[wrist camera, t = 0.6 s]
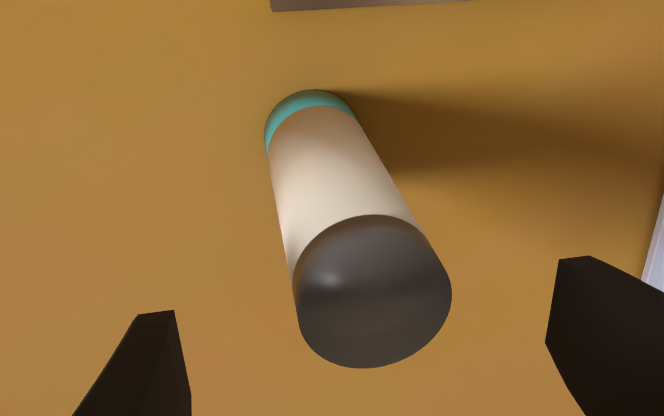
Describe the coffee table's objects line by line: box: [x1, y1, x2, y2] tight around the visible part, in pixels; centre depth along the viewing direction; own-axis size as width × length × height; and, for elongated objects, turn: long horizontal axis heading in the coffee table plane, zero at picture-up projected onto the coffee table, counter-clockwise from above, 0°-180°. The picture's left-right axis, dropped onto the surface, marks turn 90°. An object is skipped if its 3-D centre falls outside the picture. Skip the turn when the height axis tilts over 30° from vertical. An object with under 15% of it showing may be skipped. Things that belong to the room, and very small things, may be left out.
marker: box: [264, 90, 452, 368], centre depth 16 cm, size 3×3×9 cm
